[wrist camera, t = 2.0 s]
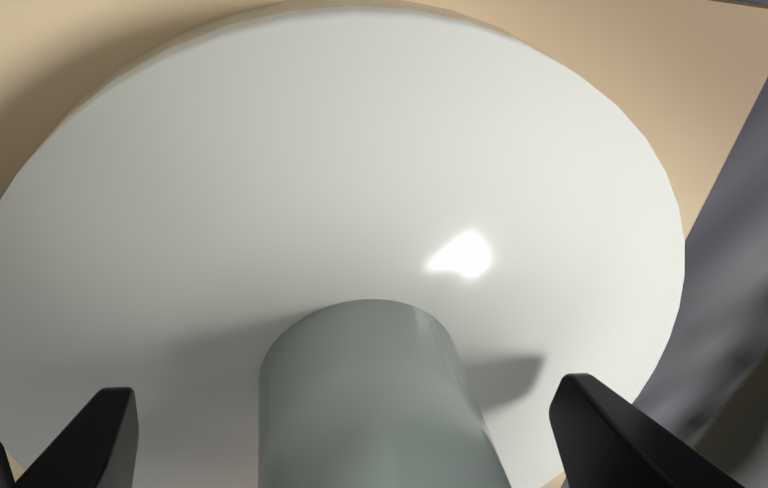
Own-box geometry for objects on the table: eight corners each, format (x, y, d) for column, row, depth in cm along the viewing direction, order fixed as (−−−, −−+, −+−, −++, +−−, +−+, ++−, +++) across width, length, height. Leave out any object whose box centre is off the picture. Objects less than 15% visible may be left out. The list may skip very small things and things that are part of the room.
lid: (541, 491, 14) (660, 757, 10) (59, 530, 12) (-55, 905, 8) (755, 44, 8) (1254, 226, 4) (-107, -65, 6) (-1021, 108, 2)
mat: (543, 481, 15) (553, 502, 15) (45, 520, 12) (36, 547, 12) (769, 5, 9) (800, 13, 8) (-145, -132, 6) (-180, -129, 6)
